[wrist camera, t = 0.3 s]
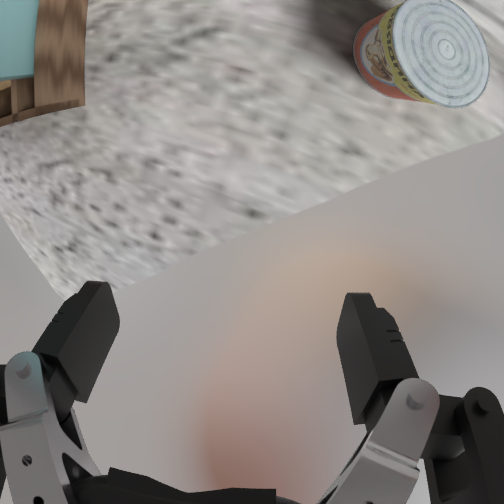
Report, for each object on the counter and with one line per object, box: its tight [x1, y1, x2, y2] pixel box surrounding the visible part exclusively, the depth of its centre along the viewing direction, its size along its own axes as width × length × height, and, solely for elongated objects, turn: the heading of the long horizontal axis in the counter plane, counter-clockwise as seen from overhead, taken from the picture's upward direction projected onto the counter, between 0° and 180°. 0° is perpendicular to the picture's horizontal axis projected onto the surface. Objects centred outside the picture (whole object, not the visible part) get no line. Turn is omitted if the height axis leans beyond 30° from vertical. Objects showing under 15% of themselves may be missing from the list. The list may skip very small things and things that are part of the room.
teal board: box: [0, 0, 39, 81], centre depth 16 cm, size 14×2×20 cm, turn 178°
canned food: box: [353, 0, 490, 108], centre depth 23 cm, size 11×11×12 cm
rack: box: [0, 0, 88, 127], centre depth 22 cm, size 24×18×10 cm
